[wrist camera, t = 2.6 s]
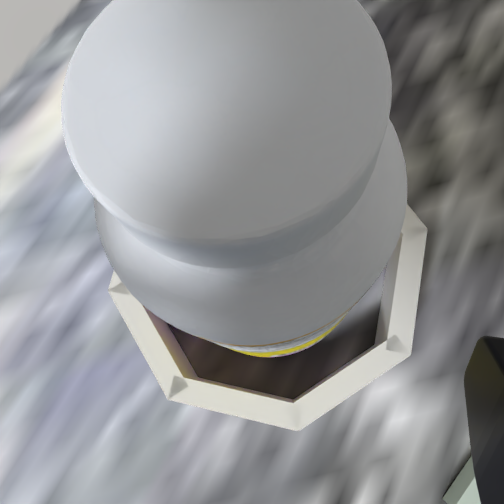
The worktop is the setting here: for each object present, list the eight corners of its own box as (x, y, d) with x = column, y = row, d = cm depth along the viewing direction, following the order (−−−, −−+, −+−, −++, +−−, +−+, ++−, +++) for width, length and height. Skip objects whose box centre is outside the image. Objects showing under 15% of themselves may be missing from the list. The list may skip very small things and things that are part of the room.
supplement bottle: (221, 180, 20) (104, -140, 8) (371, 223, 19) (520, -66, 7) (164, 328, 19) (-94, 230, 6) (324, 384, 17) (400, 403, 5)
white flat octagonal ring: (226, 471, 17) (216, 487, 14) (97, 241, 20) (70, 222, 17) (460, 312, 18) (487, 303, 15) (304, 113, 20) (305, 77, 18)
